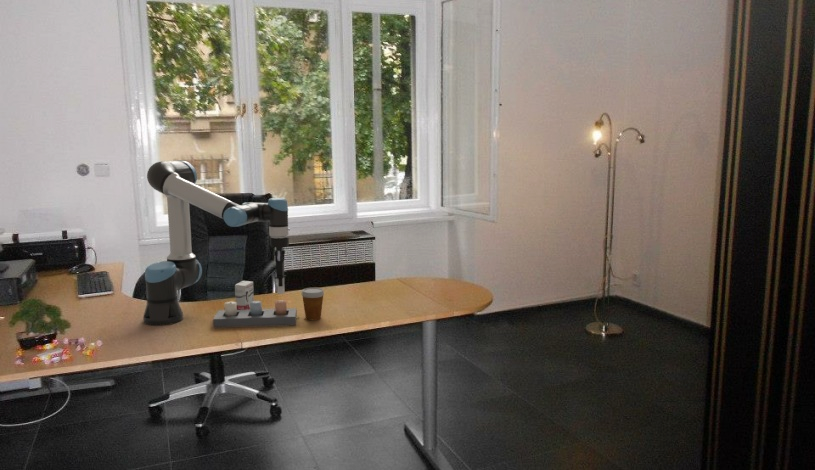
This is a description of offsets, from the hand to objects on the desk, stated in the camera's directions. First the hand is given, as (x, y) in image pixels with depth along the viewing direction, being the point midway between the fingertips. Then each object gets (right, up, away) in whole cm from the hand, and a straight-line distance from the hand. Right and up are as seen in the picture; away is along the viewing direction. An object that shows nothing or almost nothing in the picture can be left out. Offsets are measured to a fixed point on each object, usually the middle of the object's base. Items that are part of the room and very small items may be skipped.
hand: (281, 293), depth 242 cm
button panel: (-10, -12, +1) cm, 16 cm away
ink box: (-20, -9, +18) cm, 28 cm away
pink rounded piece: (0, -9, +2) cm, 9 cm away
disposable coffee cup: (+12, -11, +7) cm, 18 cm away
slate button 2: (-10, -9, 0) cm, 13 cm away
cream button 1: (-20, -9, -1) cm, 22 cm away
